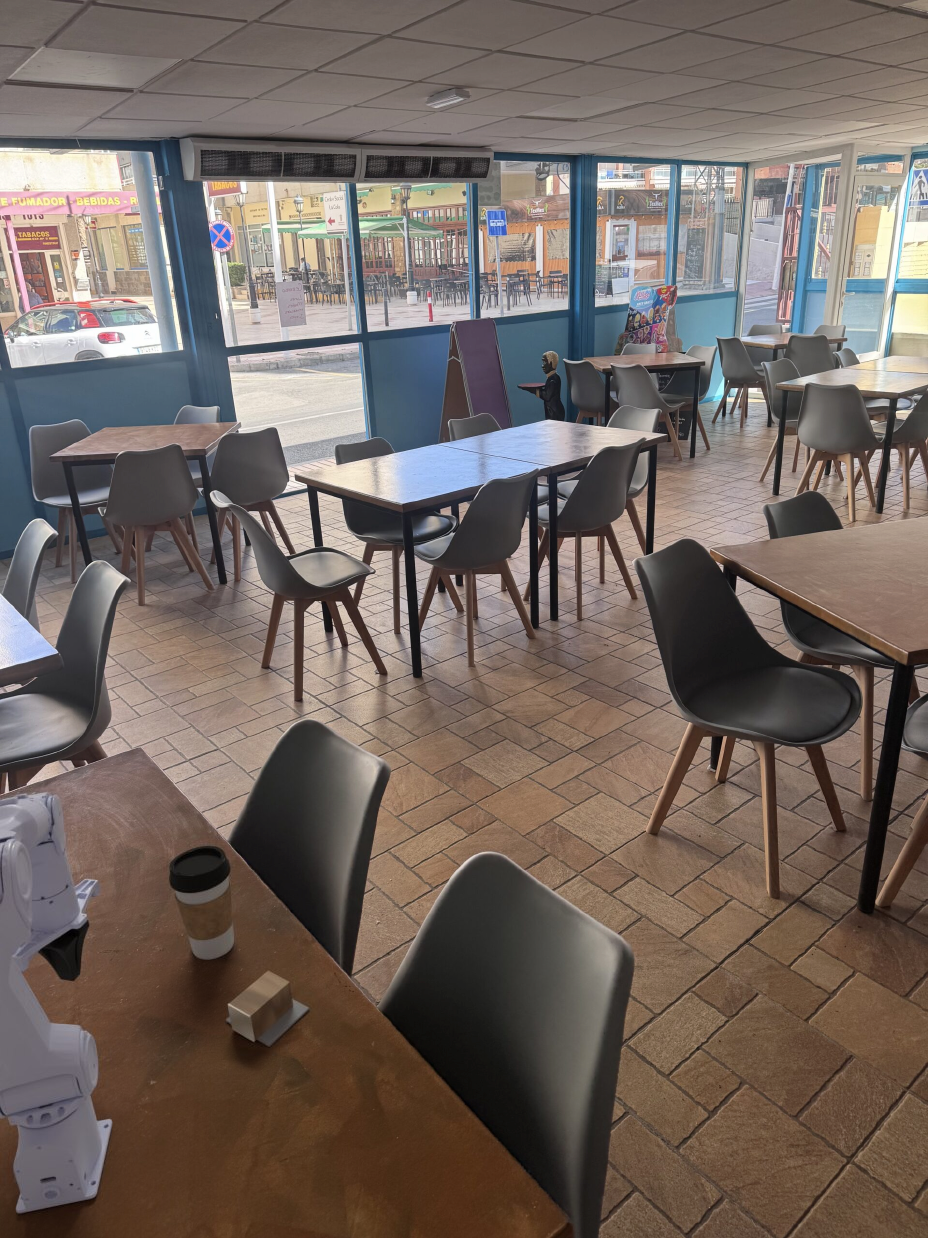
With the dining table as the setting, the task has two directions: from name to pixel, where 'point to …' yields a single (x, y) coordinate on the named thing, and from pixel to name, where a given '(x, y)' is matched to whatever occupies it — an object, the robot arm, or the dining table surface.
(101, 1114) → the dining table surface
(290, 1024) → the slate mat
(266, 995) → the walnut block
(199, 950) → the coffee cup
